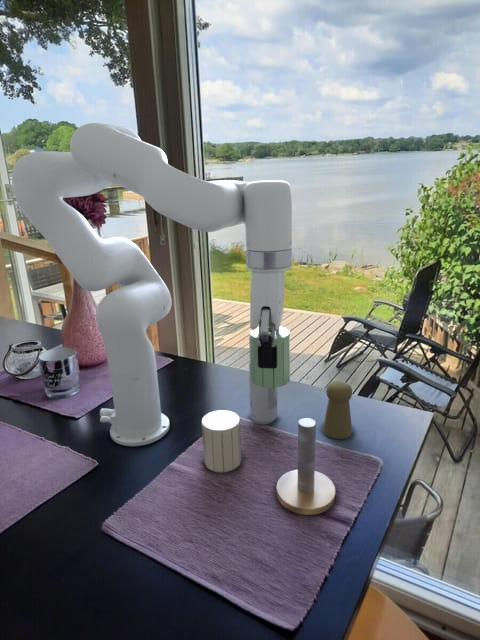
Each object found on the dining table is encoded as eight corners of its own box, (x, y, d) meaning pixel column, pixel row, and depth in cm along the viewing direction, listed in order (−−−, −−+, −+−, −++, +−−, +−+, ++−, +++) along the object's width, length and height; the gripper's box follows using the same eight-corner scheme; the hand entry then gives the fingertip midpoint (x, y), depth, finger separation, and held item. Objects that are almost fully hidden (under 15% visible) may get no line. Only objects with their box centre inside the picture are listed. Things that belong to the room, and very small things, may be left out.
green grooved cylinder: (248, 386, 77) (246, 338, 74) (254, 369, 83) (252, 324, 81) (288, 388, 76) (288, 340, 73) (291, 371, 82) (291, 325, 79)
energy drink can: (256, 409, 102) (255, 349, 98) (281, 414, 100) (281, 353, 95) (246, 422, 97) (244, 360, 92) (271, 428, 95) (271, 364, 90)
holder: (273, 511, 72) (273, 437, 67) (279, 472, 81) (278, 404, 76) (336, 518, 70) (340, 442, 65) (334, 476, 79) (337, 408, 75)
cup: (200, 470, 82) (197, 428, 79) (209, 448, 89) (206, 408, 86) (237, 473, 81) (235, 431, 78) (243, 450, 87) (242, 411, 85)
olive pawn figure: (352, 440, 90) (355, 392, 86) (322, 437, 91) (324, 390, 87) (351, 424, 95) (354, 378, 92) (323, 421, 96) (324, 376, 93)
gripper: (253, 250, 81) (255, 339, 87) (237, 270, 65) (241, 379, 71) (294, 249, 80) (294, 340, 86) (287, 270, 64) (287, 381, 70)
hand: (270, 357), depth 78 cm, fingers closed on green grooved cylinder, 7 cm apart
